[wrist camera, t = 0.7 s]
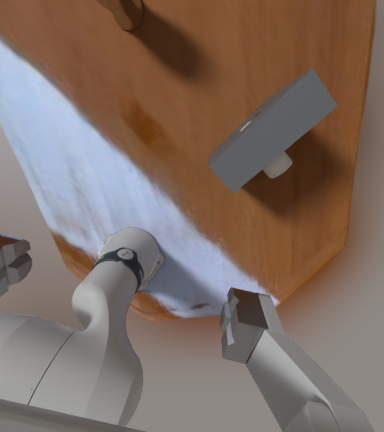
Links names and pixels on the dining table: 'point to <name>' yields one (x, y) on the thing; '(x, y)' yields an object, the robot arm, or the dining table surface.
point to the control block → (271, 130)
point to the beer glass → (125, 12)
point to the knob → (276, 163)
